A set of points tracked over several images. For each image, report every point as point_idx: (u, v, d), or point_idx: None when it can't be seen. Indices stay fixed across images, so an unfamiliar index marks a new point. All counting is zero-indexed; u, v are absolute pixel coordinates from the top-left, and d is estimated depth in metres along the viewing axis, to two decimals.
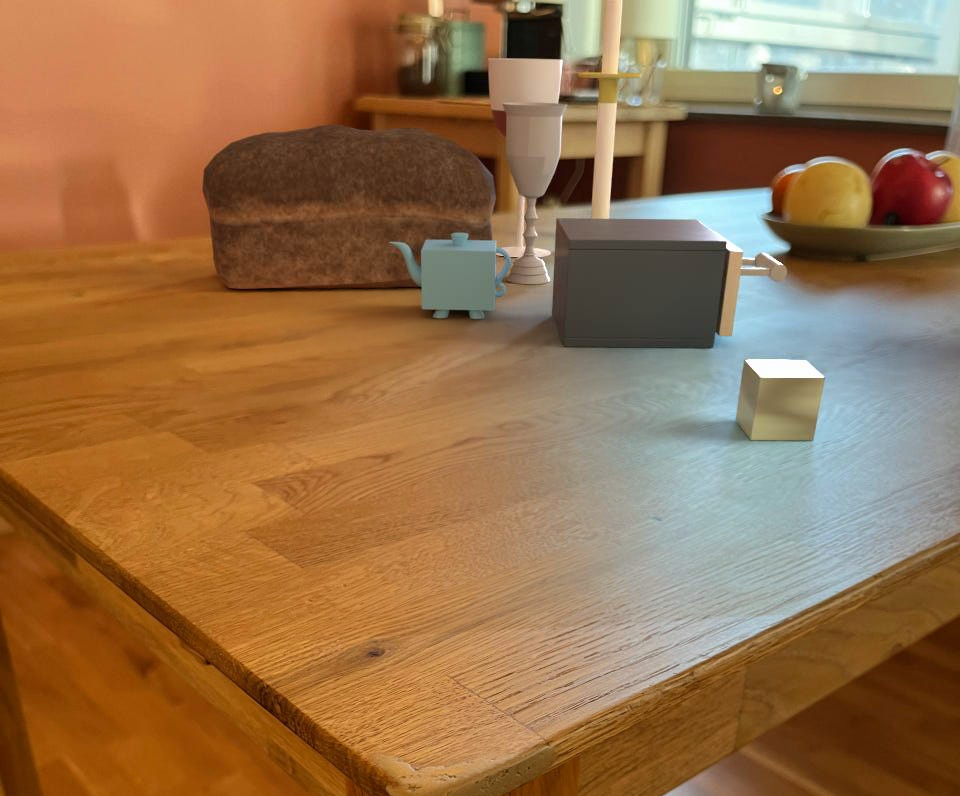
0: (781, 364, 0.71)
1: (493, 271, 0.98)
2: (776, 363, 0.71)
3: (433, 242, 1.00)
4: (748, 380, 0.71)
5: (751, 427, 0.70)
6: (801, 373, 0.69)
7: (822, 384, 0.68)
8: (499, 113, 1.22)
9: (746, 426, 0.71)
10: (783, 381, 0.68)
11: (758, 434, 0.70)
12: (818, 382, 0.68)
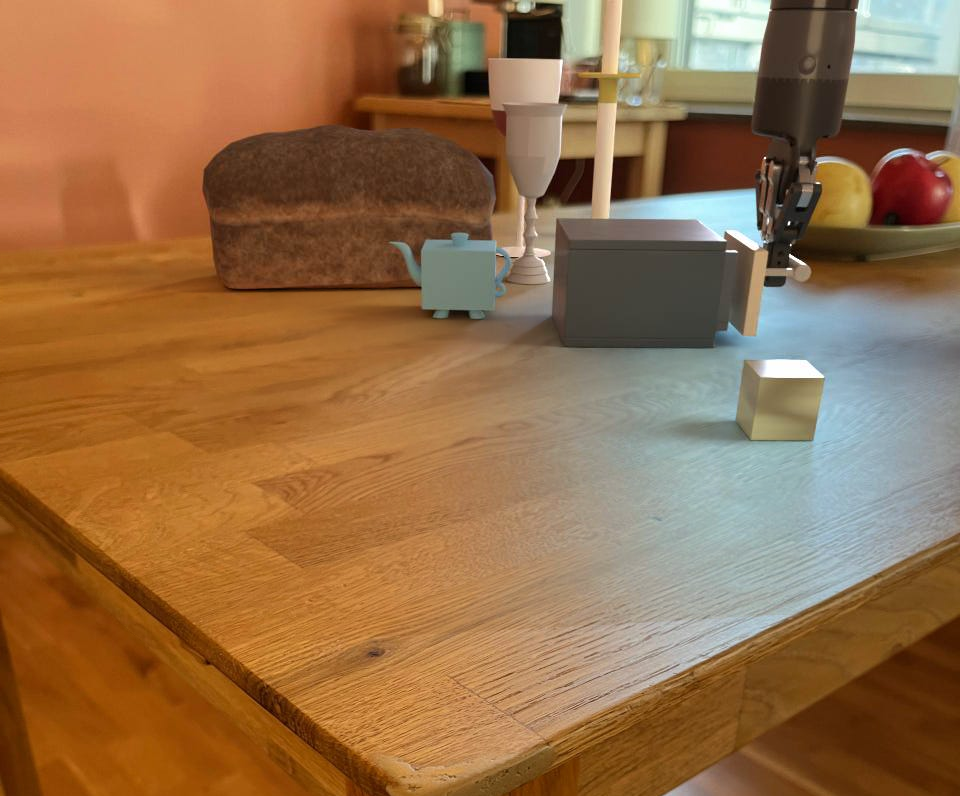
0: (781, 364, 0.71)
1: (493, 271, 0.98)
2: (776, 363, 0.71)
3: (433, 242, 1.00)
4: (748, 380, 0.71)
5: (751, 427, 0.70)
6: (801, 373, 0.69)
7: (822, 384, 0.68)
8: (499, 113, 1.22)
9: (746, 426, 0.71)
10: (783, 381, 0.68)
11: (758, 434, 0.70)
12: (818, 382, 0.68)
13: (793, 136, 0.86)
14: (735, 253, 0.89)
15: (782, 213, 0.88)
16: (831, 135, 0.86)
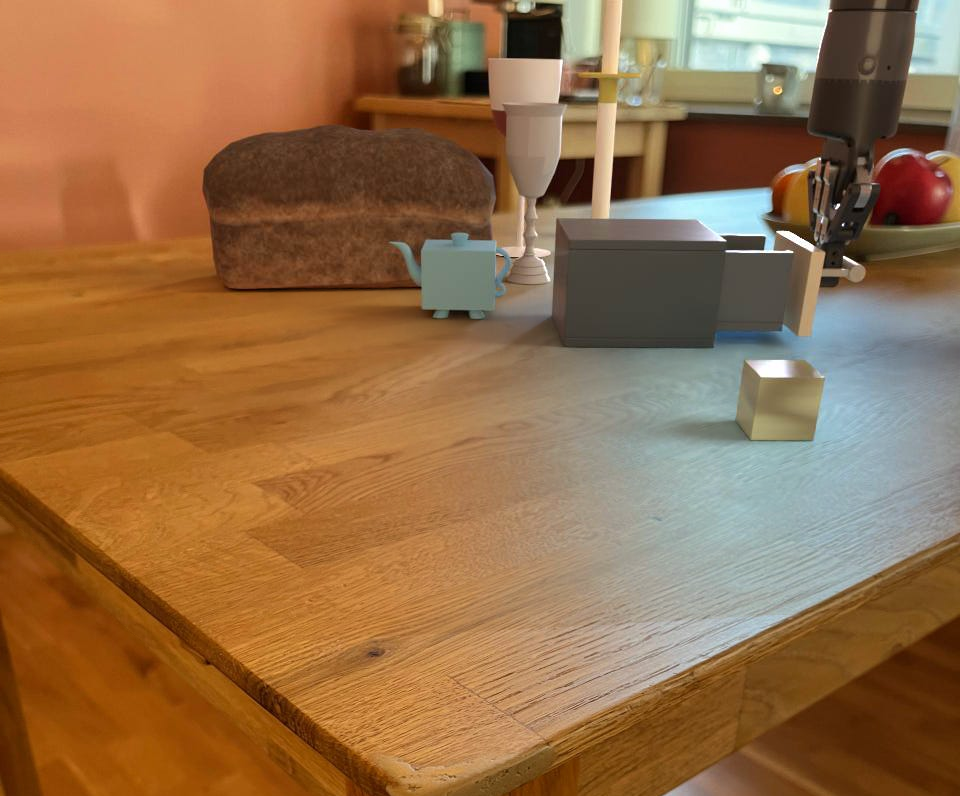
0: (781, 364, 0.71)
1: (493, 271, 0.98)
2: (776, 363, 0.71)
3: (433, 242, 1.00)
4: (748, 380, 0.71)
5: (751, 427, 0.70)
6: (801, 373, 0.69)
7: (822, 384, 0.68)
8: (499, 113, 1.22)
9: (746, 426, 0.71)
10: (783, 381, 0.68)
11: (758, 434, 0.70)
12: (818, 382, 0.68)
13: (851, 137, 0.86)
14: (792, 254, 0.89)
15: (839, 214, 0.88)
16: (889, 136, 0.87)
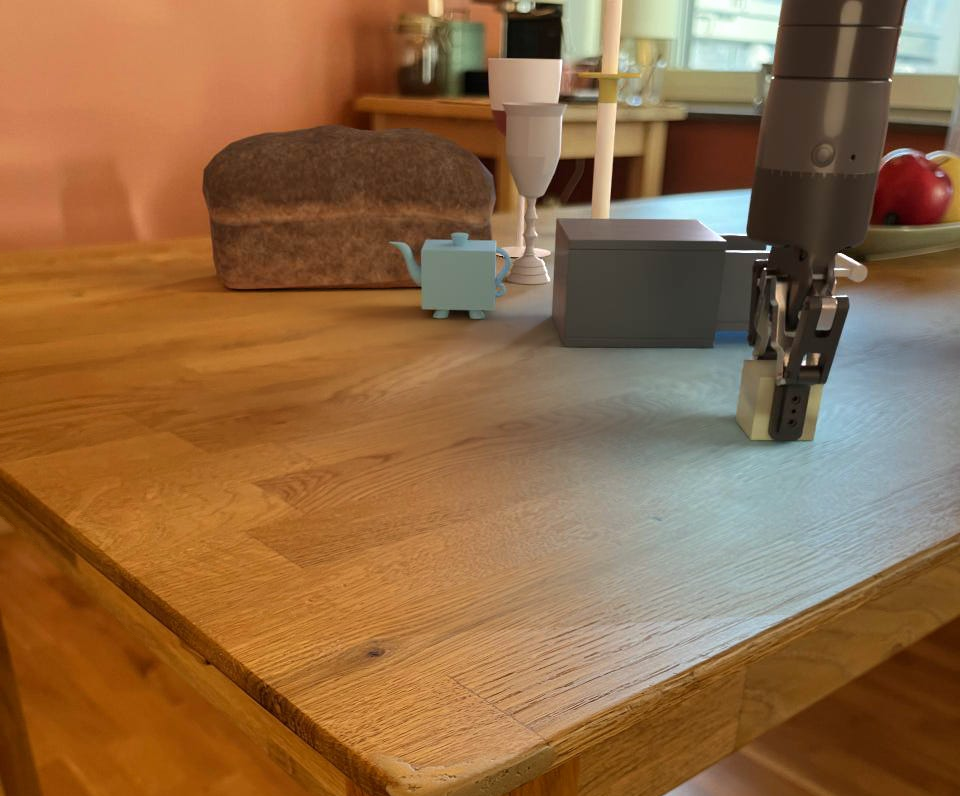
0: None
1: (493, 271, 0.98)
2: (776, 363, 0.71)
3: (433, 242, 1.00)
4: (748, 380, 0.71)
5: (750, 427, 0.70)
6: None
7: (822, 384, 0.68)
8: (499, 113, 1.22)
9: (746, 426, 0.71)
10: None
11: (758, 434, 0.70)
12: None
13: (803, 248, 0.63)
14: None
15: (796, 343, 0.64)
16: (855, 245, 0.63)
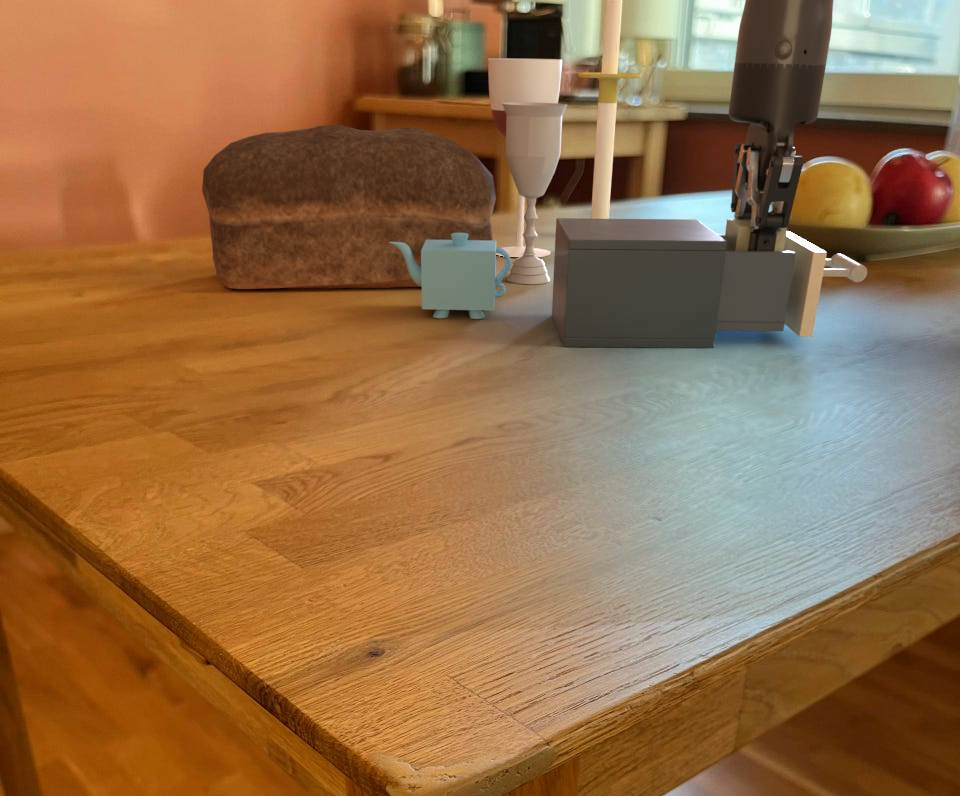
0: None
1: (493, 271, 0.98)
2: None
3: (433, 242, 1.00)
4: (730, 233, 0.93)
5: None
6: None
7: (785, 232, 0.91)
8: (499, 113, 1.22)
9: None
10: None
11: None
12: (782, 230, 0.91)
13: (770, 122, 0.85)
14: (793, 254, 0.89)
15: (765, 194, 0.86)
16: (808, 121, 0.86)
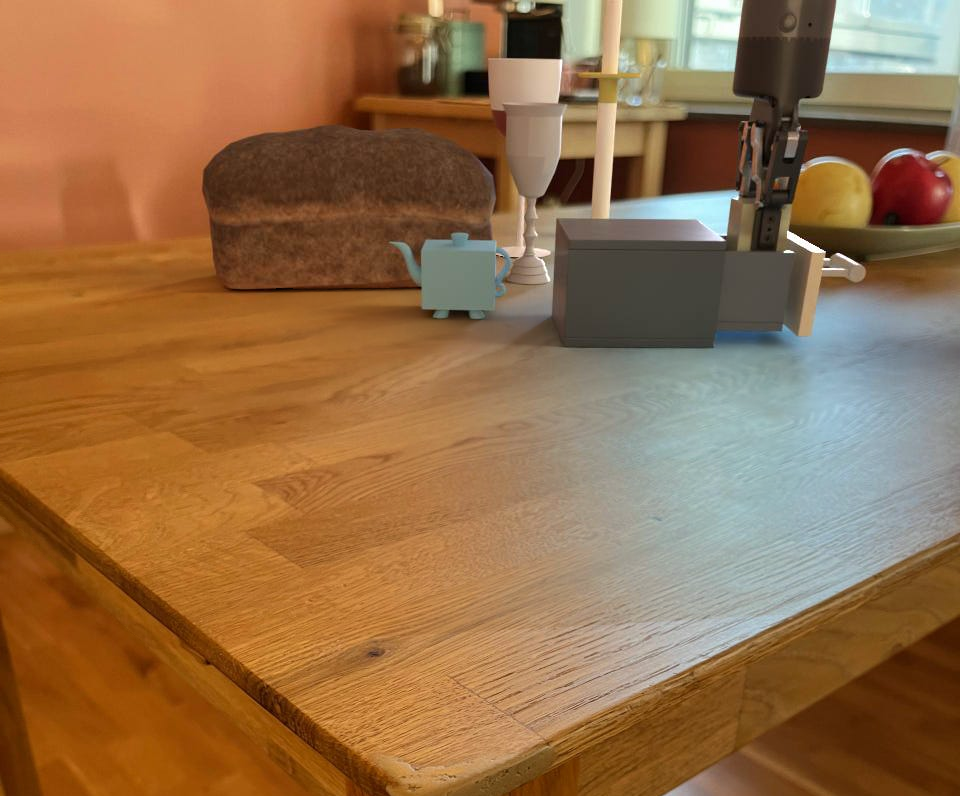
0: None
1: (493, 271, 0.98)
2: None
3: (433, 242, 1.00)
4: (734, 211, 0.92)
5: (736, 246, 0.91)
6: None
7: (790, 210, 0.90)
8: (499, 113, 1.22)
9: (733, 247, 0.93)
10: None
11: None
12: (787, 208, 0.90)
13: (774, 96, 0.84)
14: (792, 254, 0.89)
15: (770, 169, 0.85)
16: (813, 96, 0.85)
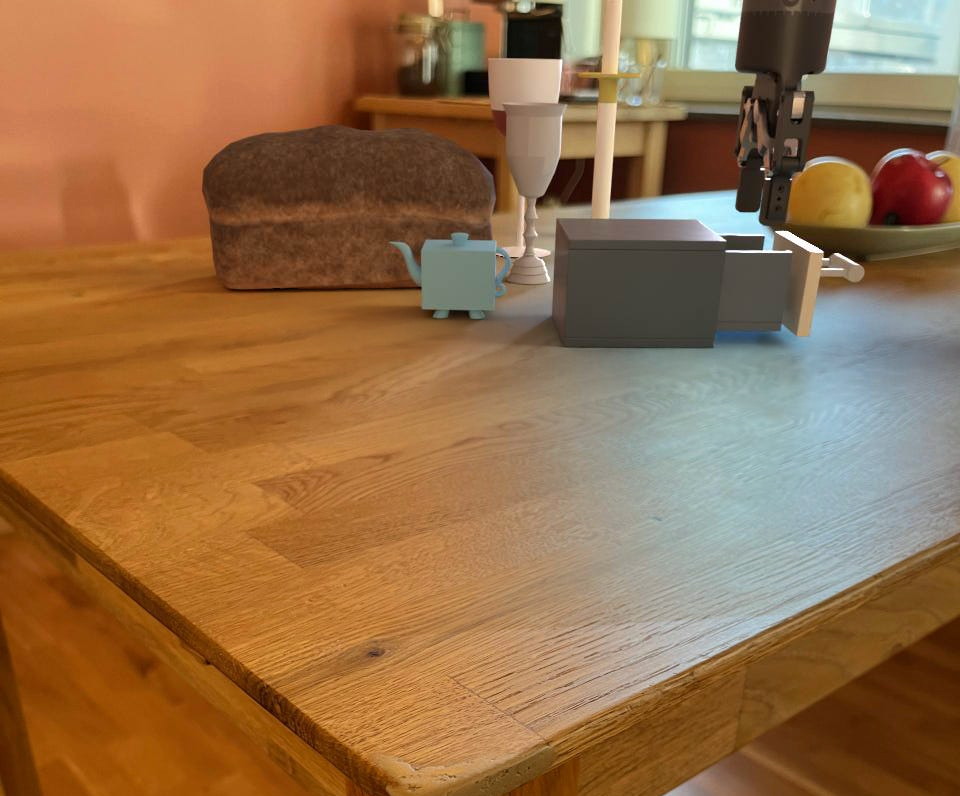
0: None
1: (493, 271, 0.98)
2: None
3: (433, 242, 1.00)
4: None
5: None
6: None
7: None
8: (499, 113, 1.22)
9: None
10: None
11: None
12: None
13: (777, 72, 0.83)
14: (790, 253, 0.89)
15: (778, 133, 0.83)
16: (817, 71, 0.84)
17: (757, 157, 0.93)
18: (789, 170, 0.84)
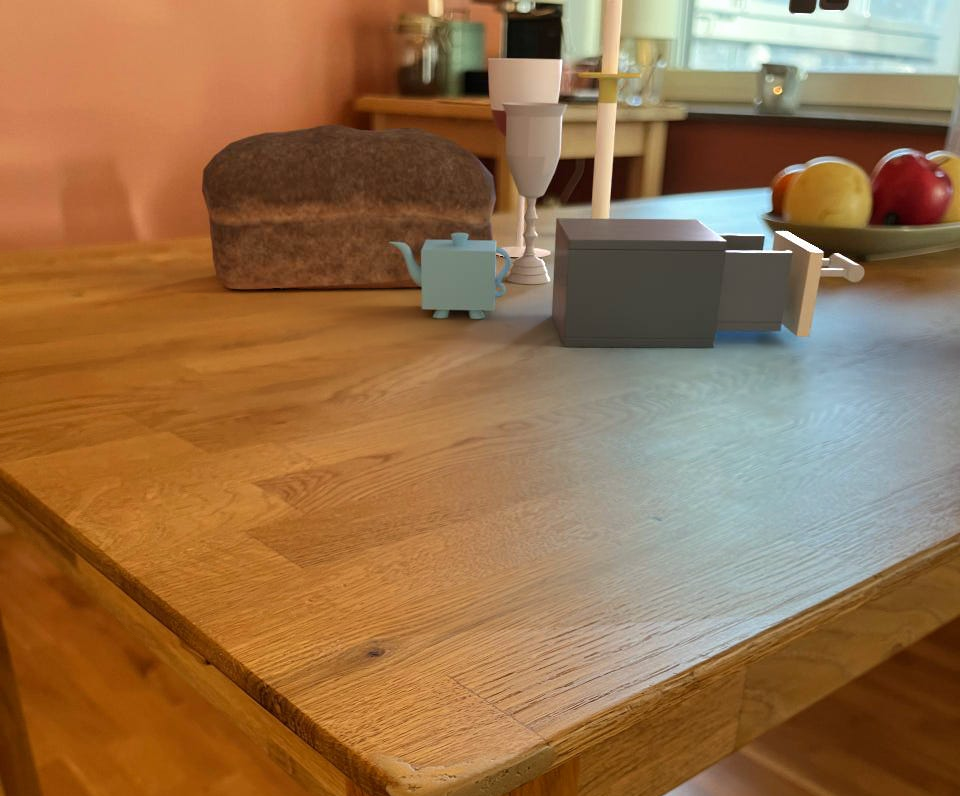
0: None
1: (493, 271, 0.98)
2: None
3: (433, 242, 1.00)
4: None
5: None
6: None
7: None
8: (499, 113, 1.22)
9: None
10: None
11: None
12: None
13: None
14: (790, 253, 0.89)
15: None
16: None
17: None
18: None
